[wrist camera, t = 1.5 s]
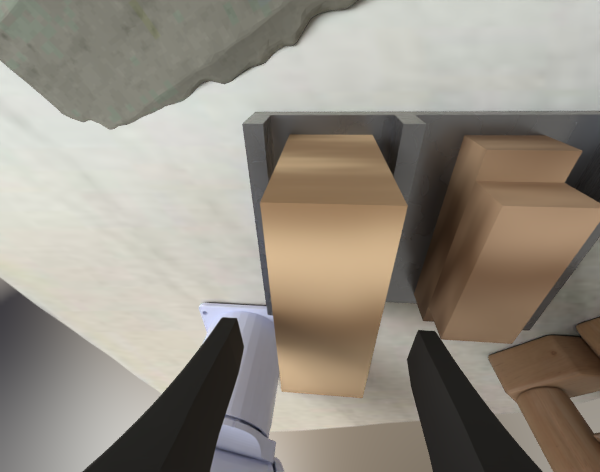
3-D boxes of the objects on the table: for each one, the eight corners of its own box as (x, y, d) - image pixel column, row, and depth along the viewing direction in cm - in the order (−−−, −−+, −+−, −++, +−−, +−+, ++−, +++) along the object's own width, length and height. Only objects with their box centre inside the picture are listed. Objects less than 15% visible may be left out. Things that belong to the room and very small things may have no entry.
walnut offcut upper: (491, 309, 18) (511, 343, 16) (428, 306, 18) (440, 339, 16) (564, 182, 13) (609, 208, 11) (475, 181, 13) (502, 206, 11)
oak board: (352, 291, 22) (362, 398, 15) (295, 288, 22) (281, 391, 15) (372, 134, 15) (407, 205, 8) (289, 134, 15) (260, 202, 9)
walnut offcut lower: (467, 296, 21) (482, 324, 19) (413, 294, 21) (423, 320, 19) (545, 135, 14) (582, 150, 12) (464, 135, 14) (487, 149, 12)
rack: (508, 300, 22) (529, 330, 19) (273, 288, 23) (267, 315, 21) (624, 111, 14) (683, 123, 11) (255, 112, 15) (242, 123, 13)
